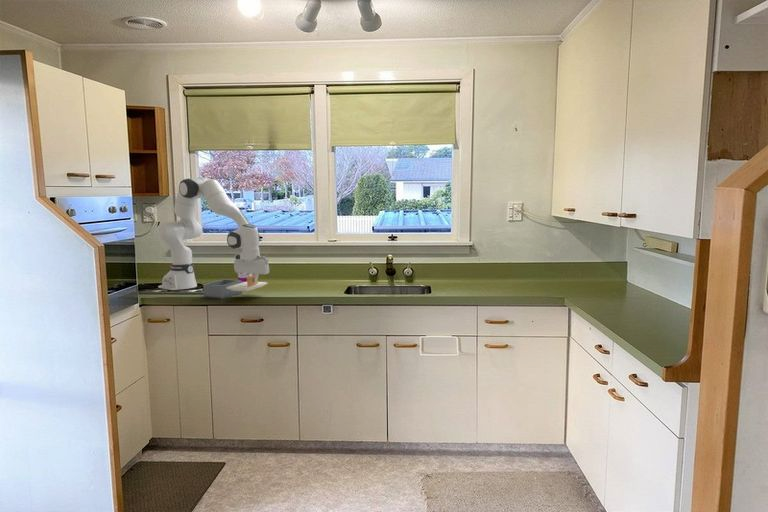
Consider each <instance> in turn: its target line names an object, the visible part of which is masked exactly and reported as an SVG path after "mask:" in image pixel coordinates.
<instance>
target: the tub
mask: <svg viewBox="0 0 768 512" xmlns="http://www.w3.org/2000/svg"><path fill="white" fill-rule="evenodd" d="M240 283H241V280H238V279H225V278H224V279H220V280H219V279H218V280H215V281H212V282H208V283H204V284H202V287H203V298H205V299H216V300H217V299H218V300H224V299H226V298H230V297H232V296H231V295H234V296H236V295H235V294H237V295H239V293H240V294H243V291H231V289H227V287H229V286H233V285H236V284H240ZM229 296H230V297H229Z"/></svg>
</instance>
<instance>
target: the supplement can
mask: <svg viewBox="0 0 768 512" xmlns="http://www.w3.org/2000/svg"><path fill="white" fill-rule="evenodd" d="M250 276H253V274H250ZM237 280H241V283H244V282H247V277H246V275H245V273H237Z"/></svg>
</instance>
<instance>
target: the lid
mask: <svg viewBox="0 0 768 512" xmlns="http://www.w3.org/2000/svg"><path fill="white" fill-rule="evenodd" d="M254 278H255V276H254V275H252V276H250V277H247V282H244V283H240V284H236V285H233V286H229V287H227V289H231V291H242V292H249V291H253V290H255V289H259V288H262V287H264V286H265V285H268V282H266V281H259V280H258V278H259V277H258V278H257V282H253V279H254Z"/></svg>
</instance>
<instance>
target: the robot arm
mask: <svg viewBox="0 0 768 512" xmlns="http://www.w3.org/2000/svg"><path fill="white" fill-rule="evenodd" d="M198 199H204V200H205V202H206V204H207V205H208V208H209V209H210V211H212V212H213V213H214V214H215V215H216V214H217V215H218V216H224V217H227V218H230V219H232V220H233V221H234V222H235V223H236V225H237V227H238V229H235V230H233V231H230V232H229V233H227V235H226V236H227V237H226V243H227V245H228V247H229V248H230V249H232V250H239V249H241V252H240V253H237V254H235V255H234V256H233V258H234V261H233V268H234V269H233V271H234V272H235V273H236V274H238V273H245V275H246V277H250V274H252V275H253V276H255V278H254V279H253V282H257V278H259V276H260V275H267V274H269V273H270V265H269V259H268V258H267V257H266V256H264V255H263V256H261V253H260V246H259V243H260V239H261V237H260V234H259V230H258V228H257V226H256V225H254V224H251V223H250V222H249V220H248V218H247V217H246V216H245V214H244V213H243V211H242V210H241V209H240V208H239V206H238V205H236V204H235V203H234V202H233V201H232V200H231V199H230V197H229V196H228V195H227V192H226V191H225V189H224V188H223V186H222V185H221V184H220V183H219V181H218V180H217V179H215V178H214V177H193V178H185V179H182V180H181V181H180V182H179V185H178V191H177V194H176V198H175V202H174V207H173V211H174V213H175V215H176V216H177V217H178V218H180V220H179V221H178V220H175V221H166V222H162V223H160V224H159V225H158V226H157V230H156V234H157V236H158V238H159V240H161V241H163V242H164V243H165V244H166V245H167V246H168V249H169V251H170V254H171V263H172V264H169V268H170V269H169V271H168V272H167V273H166V274H165V275H163V277H162V281H161V283H162V284H160V285H158V286H157V287H158V289H164V290H170V291H178V290H188V289H193V288H197V287H198V283H197V281H196V276H195V275H196V274H195V272H194V269H195V264H194V262H193V251H192V249H191V248H190V247H188V246H186V245H185V244H184V243H183V241H184V240H192V239H195V238H198V237H201V235H202V232H203V228H202V225H201V224H200V223H199V222H198V220H197V219H196V209H197V208H196V207H197V203H198Z"/></svg>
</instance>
